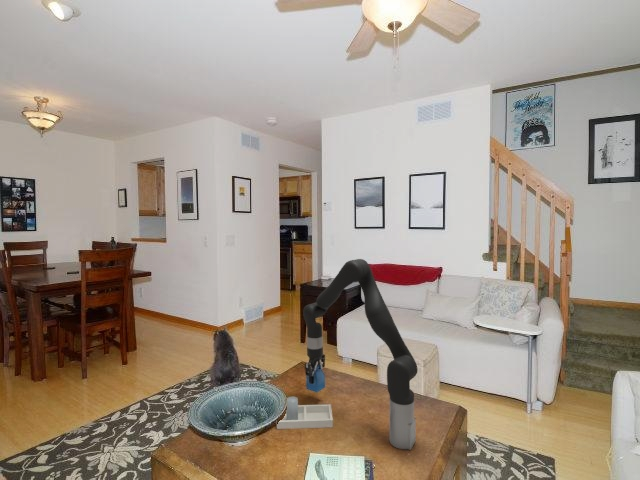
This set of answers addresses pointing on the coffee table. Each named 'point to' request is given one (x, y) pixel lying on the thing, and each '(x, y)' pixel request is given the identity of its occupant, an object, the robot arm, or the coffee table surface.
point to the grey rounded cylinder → (292, 408)
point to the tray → (309, 417)
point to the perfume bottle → (316, 380)
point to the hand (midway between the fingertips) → (315, 380)
